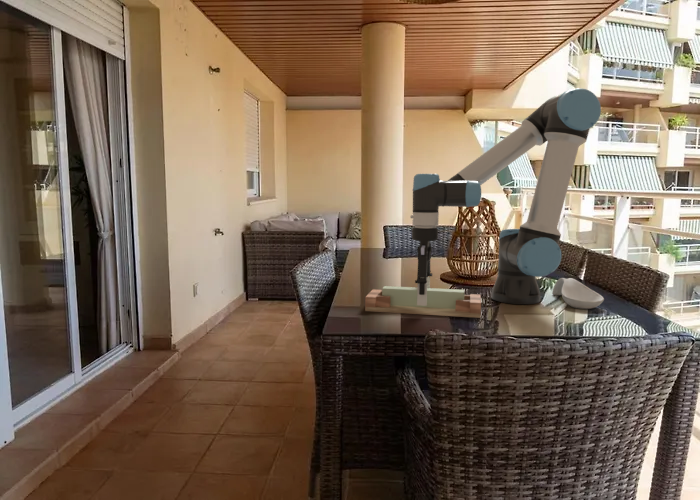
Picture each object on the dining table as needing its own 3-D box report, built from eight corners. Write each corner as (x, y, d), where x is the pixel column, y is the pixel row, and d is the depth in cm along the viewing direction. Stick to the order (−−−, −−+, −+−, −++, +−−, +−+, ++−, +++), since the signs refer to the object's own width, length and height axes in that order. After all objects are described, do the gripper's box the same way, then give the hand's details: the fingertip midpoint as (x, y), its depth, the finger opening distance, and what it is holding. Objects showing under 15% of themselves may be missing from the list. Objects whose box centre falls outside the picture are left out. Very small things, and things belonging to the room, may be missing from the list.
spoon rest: (610, 312, 152) (612, 288, 151) (571, 312, 152) (572, 288, 151) (574, 295, 175) (576, 274, 174) (540, 295, 175) (541, 274, 174)
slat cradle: (372, 302, 163) (372, 289, 162) (479, 308, 155) (480, 294, 155) (365, 310, 151) (365, 297, 151) (480, 317, 144) (481, 303, 143)
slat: (384, 301, 158) (384, 285, 157) (463, 306, 152) (464, 289, 152) (381, 304, 154) (382, 288, 154) (463, 309, 149) (464, 292, 148)
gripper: (416, 223, 162) (414, 293, 165) (407, 229, 140) (406, 309, 143) (440, 224, 160) (438, 294, 163) (435, 230, 139) (433, 310, 141)
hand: (423, 301), depth 153 cm, fingers open, 10 cm apart
